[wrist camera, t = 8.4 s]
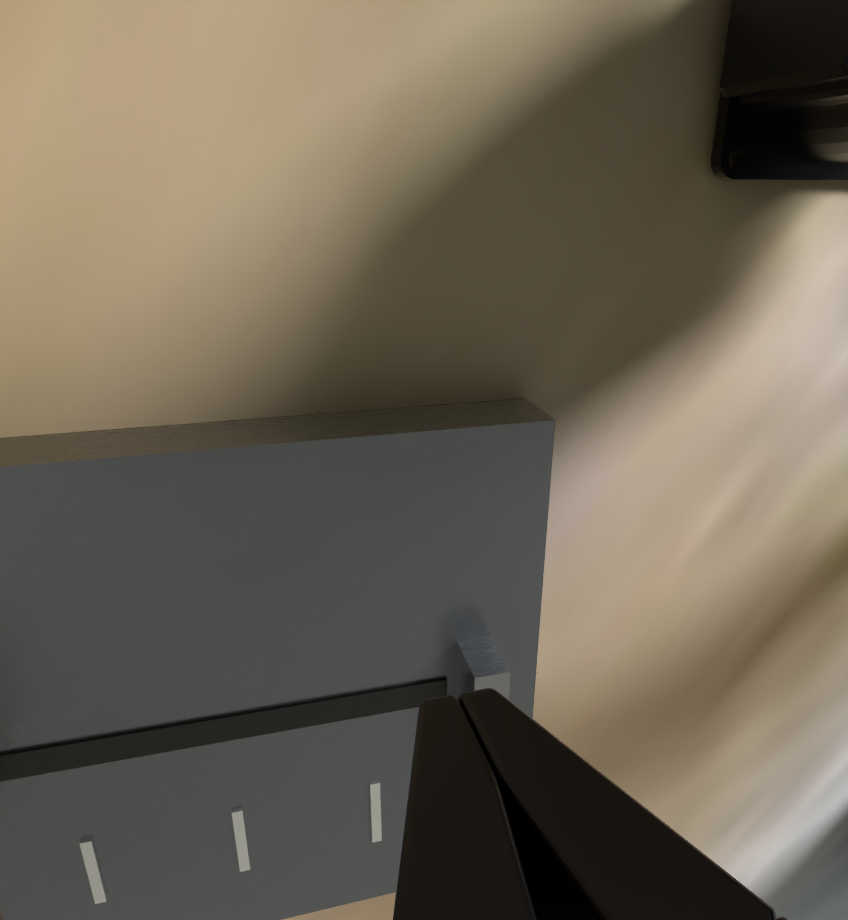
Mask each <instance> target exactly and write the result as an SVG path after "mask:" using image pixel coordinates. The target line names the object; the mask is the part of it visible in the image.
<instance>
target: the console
mask: <svg viewBox="0 0 848 920" xmlns="http://www.w3.org/2000/svg"><path fill="white" fill-rule="evenodd" d="M554 427H555V420H554V419H553V418H551V417H550V416H548V415H547V414H546V413H544V412H543V411H542V410H540V409H539V408H538V407H536V406H535V405H534V404H532V403H531V402H530V401H528V400H527V399H512V400H499V401H486V402H473V403H459V404H446V405H433V406H420V407H406V408H393V409H380V410H366V411H353V412H340V413H327V414H313V415H300V416H287V417H274V418H260V419H247V420H234V421H221V422H207V423H194V424H181V425H168V426H154V427H141V428H128V429H114V430H101V431H88V432H75V433H61V434H48V435H35V436H22V437H8V438H0V920H281V919H286V918H290V917H294V916H298V915H302V914H306V913H311V912H315V911H319V910H323V909H327V908H331V907H335V906H340V905H344V904H348V903H352V902H356V901H360V900H365V899H369V898H373V897H377V896H381V895H385V894H390V893H394V892H396V891H397V882H398V874H399V866H400V858H401V850H402V842H403V833H404V825H405V817H406V809H407V801H408V793H409V785H410V776H411V768H412V760H413V752H414V744H415V736H416V728H417V719H418V711H419V705H420V703H421V702H422V701H423V700H427V699H432V698H437V697H443V696H448V695H453V696H455V697H456V698H458V696H459V695H460V694H461V693H464V692H469V691H475V690H480V689H486V688H492V689H494V690H497V691H498V692H499V693H501V694H502V695H503V696H504V697H506V698H507V699H508V700H510V701H511V702H512V703H513V704H515V705H516V706H517V707H518V708H520V709H521V710H522V711H523V712H525V713H526V714H527V715H529V716H530V717H531V718H532V717H533V704H534V691H535V678H536V664H537V651H538V638H539V625H540V612H541V598H542V585H543V572H544V559H545V546H546V533H547V519H548V506H549V493H550V480H551V467H552V453H553V440H554Z"/></svg>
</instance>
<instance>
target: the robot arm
mask: <svg viewBox="0 0 848 920" xmlns="http://www.w3.org/2000/svg"><path fill="white" fill-rule="evenodd" d="M720 87H721V93H720V100H719V107H718V114H717V121H716V128H715V135H714V142H713V149H712V156H711V168H712V170H713V173H714V174H715V175H716V176H717V177H718V178H721V179H724V180H848V0H732V4H731V11H730V18H729V25H728V32H727V39H726V46H725V53H724V60H723V67H722V74H721V81H720ZM733 150H734V152H735V153H736V161H735V163H734V165H733V166H732V167H731V166H730V164H729V157H730V154H731V152H732V151H733ZM393 920H787V919H786V918H784V917H779V918H778V919H777V917H776V913H775V911H774V909H773V908H772V907H770V906H769V905H768V904H766V903H765V902H764V901H763V900H761V899H760V898H759V897H758V896H756V895H755V894H754V893H753V892H751V891H750V890H749V889H748V888H746V887H745V886H744V885H742V884H741V883H740V882H739V881H737V880H736V879H735V878H734V877H732V876H731V875H730V874H729V873H727V872H726V871H725V870H723V869H722V868H721V867H720V866H718V865H717V864H716V863H715V862H713V861H712V860H711V859H710V858H708V857H707V856H706V855H704V854H703V853H702V852H701V851H699V850H698V849H697V848H696V847H694V846H693V845H692V844H691V843H689V842H688V841H687V840H685V839H684V838H683V837H682V836H680V835H679V834H678V833H677V832H675V831H674V830H673V829H672V828H670V827H669V826H668V825H666V824H665V823H664V822H663V821H661V820H660V819H659V818H658V817H656V816H655V815H654V814H653V813H651V812H650V811H649V810H648V809H646V808H645V807H644V806H642V805H641V804H640V803H639V802H637V801H636V800H635V799H634V798H632V797H631V796H630V795H629V794H627V793H626V792H625V791H623V790H622V789H621V788H620V787H618V786H617V785H616V784H615V783H613V782H612V781H611V780H610V779H608V778H607V777H606V776H604V775H603V774H602V773H601V772H599V771H598V770H597V769H596V768H594V767H593V766H592V765H591V764H589V763H588V762H587V761H585V760H584V759H583V758H582V757H580V756H579V755H578V754H577V753H575V752H574V751H573V750H572V749H570V748H569V747H568V746H566V745H565V744H564V743H563V742H561V741H560V740H559V739H558V738H556V737H555V736H554V735H553V734H551V733H550V732H549V731H547V730H546V729H545V728H544V727H542V726H541V725H540V724H539V723H537V722H536V721H535V720H534V719H532V718H531V717H530V716H529V715H527V714H526V713H525V712H523V711H522V710H521V709H520V708H518V707H517V706H516V705H515V704H513V703H512V702H511V701H510V700H508V699H507V698H506V697H504V696H503V695H502V694H501V693H499V692H498V691H497V690H494V689H492V688H486V689H480V690H475V691H469V692H464V693H461V694H460V695H459V696H458V698H456V697H455V696H453V695H448V696H443V697H437V698H432V699H427V700H423V701H422V702H421V703H420V705H419V711H418V719H417V728H416V736H415V744H414V752H413V760H412V768H411V776H410V785H409V793H408V801H407V809H406V817H405V825H404V833H403V842H402V850H401V858H400V866H399V874H398V882H397V891H396V899H395V907H394V915H393Z"/></svg>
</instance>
